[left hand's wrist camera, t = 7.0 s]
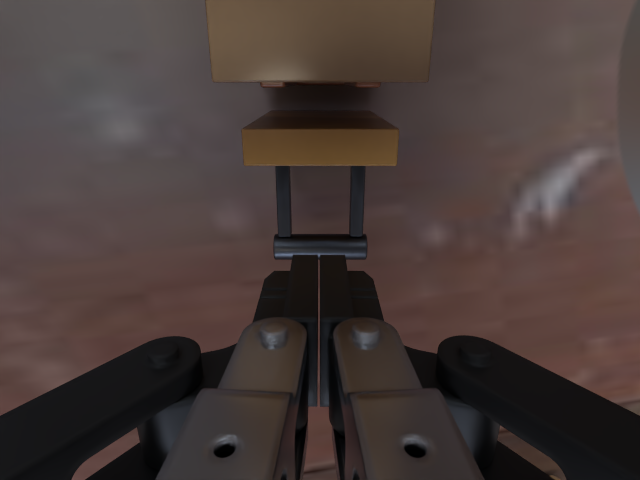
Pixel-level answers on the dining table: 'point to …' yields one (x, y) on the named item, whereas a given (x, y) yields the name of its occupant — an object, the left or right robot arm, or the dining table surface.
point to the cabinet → (320, 40)
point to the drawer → (320, 164)
